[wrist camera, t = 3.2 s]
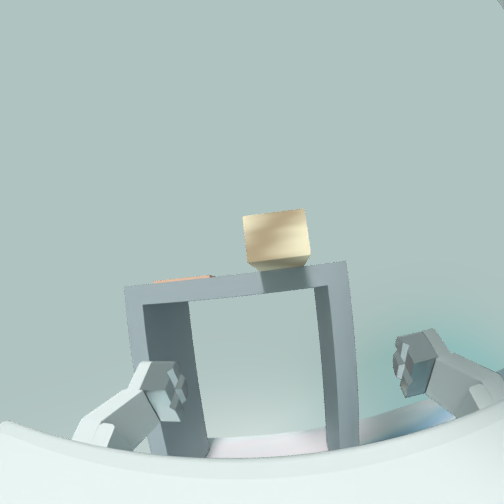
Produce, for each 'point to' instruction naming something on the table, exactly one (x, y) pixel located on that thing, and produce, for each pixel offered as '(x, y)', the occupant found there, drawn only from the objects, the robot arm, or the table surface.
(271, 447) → the table surface
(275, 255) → the beech handle
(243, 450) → the table surface
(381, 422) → the table surface
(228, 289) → the shelf stand
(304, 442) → the table surface
